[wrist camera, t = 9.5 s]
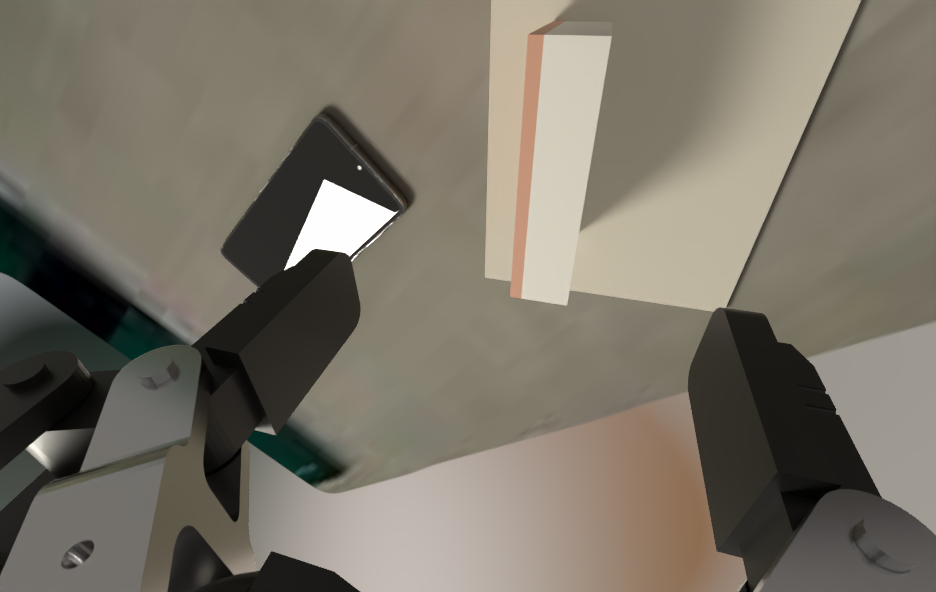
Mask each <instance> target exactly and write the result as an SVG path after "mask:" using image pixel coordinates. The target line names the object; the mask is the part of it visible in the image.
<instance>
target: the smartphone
mask: <svg viewBox="0 0 936 592" xmlns="http://www.w3.org/2000/svg"><path fill="white" fill-rule="evenodd" d="M406 209H407V200H406V198H405V197H404V195H403V194H402V193H401V192H400V191H399V190H398V189H397V188H396V186H395V185H394V184H393V183H392V182H391V181H390V180H389V179H388V178H387V177H386V176H385V174H384V173H383V172H382V171H381V170H380V169H379V168H378V167H377V166H376V165H375V164H374V163H373V161H372V160H371V159H370V158H369V157H368V156H367V155H366V154H365V153H364V152H363V151H362V149H361V148H360V147H359V146H358V145H357V144H356V143H355V142H354V141H353V140H352V139H351V137H350V136H349V135H348V134H347V133H346V132H345V131H344V130H343V129H342V128H341V127H340V126H339V124H338V123H337V122H336V121H335V120H334V119H333V118H332V117H330V116H328V115H326V114H320V115H317V116H315V117H314V118H313V120H312V121H311V122H310V124H309V125H308V126H307V128H306V129H305V131H304V132H303V133H302V135H301V136H300V138H299V139H298V140H297V142H296V143H295V145H294V146H293V147H292V149H291V150H290V151H289V153H288V154H287V156H286V157H285V158H284V160H283V161H282V163H281V164H280V165H279V167H278V168H277V169H276V171H275V172H274V174H273V175H272V176H271V178H270V179H269V181H268V182H267V183H266V185H265V186H264V187H263V189H262V190H261V192H260V193H259V194H258V196H257V197H256V199H255V200H254V201H253V203H252V204H251V205H250V207H249V208H248V210H247V211H246V212H245V214H244V215H243V217H242V218H241V219H240V221H239V222H238V223H237V225H236V226H235V228H234V229H233V230H232V232H231V233H230V235H229V236H228V237H227V239H226V240H225V242H224V243H223V244H222V246H221V253H222V255H223V256H224V258H225V259H227V260H228V261H229V262H230V263H231V264H232V265H233V266H235V267H236V268H237V269H238V270H239V271H240V272H241V273H242V274H244V275H245V276H246V277H247V278H248V279H249V280H250V281H251V282H253V283H254V284H255V285H256V286H257V287H258V288H259V287H260V286H261V285H262V284H263V283H265V282H266V281H267V280H268V279H269V278H270V277H271V276H273V275H275V274H277V273H279V272H281V271H283V270H285V269H287V268H289V267H291V266H294V265H295V264H297V263H298V262H299V261H300V260H301V259H302V258H303V257H304V256H306V255H307V254H308V253H309V252H310V251H311V250H313V249H323V250H330V251H337V252H344V253H346V254H348V255H349V257H350V259H351V261H352V260H353V259H355V258H356V257H357V256H358V255H359V253H360V252H361V251H362V250H364V249H365V248H367V247H368V246H369V245H370V244H371V243H373V242H374V241H375V240H376V239H377V238H378V237H379V236H380V235H382V234H383V232H384V231H385V230H386V229H387V228H388V227H389V226H390V225H392V224H393V223H394V222H395V221H396V220H397V219H398V218H399V217H400V216H402V215H403V214H404V213H405V211H406Z"/></svg>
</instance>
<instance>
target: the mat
mask: <svg viewBox="0 0 936 592" xmlns="http://www.w3.org/2000/svg"><path fill="white" fill-rule="evenodd" d="M860 2H861V0H491V41H490V84H489V127H488V170H487V213H486V256H485V278H492V279H498V280H505V281H511V276H512V261H513V247H514V232H515V217H516V202H517V188H518V173H519V158H520V143H521V129H522V114H523V99H524V84H525V70H526V55H527V40H528V34H530V33H532V32H534V31H535V30H537V29H539V28H541V27H543V26H545V25H547V24H549V23H551V22H553V21H580V22H613V23H612V38H611V44H610V50H609V56H608V62H607V68H606V74H605V80H604V86H603V92H602V98H601V104H600V110H599V116H598V122H597V128H596V134H595V140H594V146H593V152H592V158H591V164H590V170H589V176H588V182H587V188H586V194H585V200H584V206H583V212H582V218H581V224H580V230H579V236H578V242H577V248H576V254H575V260H574V266H573V272H572V278H571V284H570V290H572V291H579V292H586V293H593V294H599V295H606V296H613V297H620V298H626V299H633V300H640V301H646V302H653V303H660V304H667V305H673V306H680V307H687V308H694V309H700V310H707V311H715V310H716V309H717V308H719V307H721V308H726V306H727V304H728V301H729V299H730V297H731V295H732V292H733V290H734V288H735V286H736V283H737V281H738V279H739V277H740V274H741V272H742V270H743V267H744V265H745V263H746V261H747V258H748V256H749V254H750V252H751V249H752V247H753V245H754V242H755V240H756V238H757V236H758V233H759V231H760V229H761V227H762V224H763V222H764V220H765V218H766V215H767V213H768V211H769V208H770V206H771V204H772V202H773V199H774V197H775V195H776V193H777V190H778V188H779V186H780V184H781V181H782V179H783V177H784V174H785V172H786V170H787V168H788V165H789V163H790V161H791V159H792V156H793V154H794V152H795V150H796V147H797V145H798V143H799V140H800V138H801V136H802V134H803V131H804V129H805V127H806V125H807V122H808V120H809V118H810V115H811V113H812V111H813V109H814V106H815V104H816V102H817V100H818V97H819V95H820V93H821V91H822V88H823V86H824V84H825V81H826V79H827V77H828V75H829V72H830V70H831V68H832V66H833V63H834V61H835V59H836V57H837V54H838V52H839V50H840V47H841V45H842V43H843V41H844V38H845V36H846V34H847V32H848V29H849V27H850V25H851V23H852V20H853V18H854V16H855V13H856V11H857V9H858V7H859V4H860Z"/></svg>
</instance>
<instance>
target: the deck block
mask: <svg viewBox="0 0 936 592" xmlns="http://www.w3.org/2000/svg"><path fill="white" fill-rule="evenodd" d="M612 23H613V22H580V21H553V22H551V23H549V24H547V25H545V26H543V27H541V28H539V29H537V30H535V31H534V32H532V33H530V34H528V40H527V55H526V70H525V84H524V99H523V114H522V129H521V143H520V158H519V173H518V188H517V202H516V217H515V232H514V247H513V261H512V276H511V291H510V297H516V298H522V299H528V300H535V301H541V302H547V303H554V304H560V305H566V306H567V302H568V296H569V290H570V284H571V278H572V272H573V266H574V260H575V254H576V248H577V242H578V236H579V230H580V224H581V218H582V212H583V206H584V200H585V194H586V188H587V182H588V176H589V170H590V164H591V158H592V152H593V146H594V140H595V134H596V128H597V122H598V116H599V110H600V104H601V98H602V92H603V86H604V80H605V74H606V68H607V62H608V56H609V50H610V44H611V38H612Z"/></svg>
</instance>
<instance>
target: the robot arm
mask: <svg viewBox="0 0 936 592" xmlns="http://www.w3.org/2000/svg"><path fill="white" fill-rule="evenodd" d="M359 317H360V301H359V296H358V291H357V286H356V281H355V277H354V272H353V267H352V262H351V259H350V257H349V255H348V254H346V253H344V252H337V251H330V250H323V249H313V250H311V251H310V252H309V253H308V254H307V255H306V256H304V257H303V258H302V259H301V260H300V261H299V262H298V263H297V264H295V265H294V266H291V267H289V268H287V269H285V270H283V271H281V272H279V273H277V274H275V275H273V276H271V277H270V278H269V279H268V280H267V281H266V282H265V283H263V284H262V285H261V286H260V287H259V288H258V289H256V293H254V292H253V293H252V294H251V295H250V296H248V297H247V298H246V299H245V300H244V303H243V304H239V305H238V306H237V307H236V308H235V309H233V310H232V311H231V312H230V313H229V314H228V315H227V316H225V317H224V318H223V319H222V320H221V321H220V322H218V323H217V324H216V325H215V326H214V327H213V328H212V329H210V330H209V331H208V332H207V333H206V334H205V335H203V336H202V337H201V338H200V339H199V340H198V341H197V342H195V343H194V344H193V345H192V346H186V345H172V346H166V347H162V348H158V349H155V350H153V351H150V352H148V353H145V354H143V355H141V356H140V357H138V358H136V359H134V360H133V361H131V362H130V363H129V364H127V365H126V366H125V367H124V368H123V369H122V370H114V371H98V372H88V371H87V370H86V368H85V367H84V366H83V364H82V363H81V362H80V361H79V359H78V358H77V357H76V356H75V355H74V354H73V353H70V352H67V351H52V352H46V353H41V354H37V355H34V356H31V357H28V358H25V359H23V360H21V361H18V362H16V363H14V364H12V365H10V366H8V367H6V368H5V369H3V370H1V371H0V470H1V469H2V468H3V467H4V466H6V465H7V464H8V463H9V462H10V461H11V460H13V459H14V458H15V457H16V456H17V455H19V454H20V453H21V452H22V451H23V450H25V449H26V450H27V451H28V452H29V453H30V454H31V455H32V456H33V457H35V458H36V459H37V460H38V461H39V462H40V463H41V464H42V465H43V466H44V467H45V468H46V470H45V471H44V472H43V473H42V474H41V475H40V476H38V477H37V478H36V479H35V480H34V481H33V482H32V483H31V484H30V485H29V486H27V487H26V488H25V489H24V490H23V491H22V492H21V493H20V494H19V495H18V496H17V497H15V498H14V499H13V500H12V501H11V502H10V503H9V504H8V505H7V506H6V507H5V508H4V509H3V510H1V511H0V592H360V591H358V590H357V589H356V588H354V587H353V586H352V585H351V584H349V583H348V582H347V581H345V580H344V579H343V578H342V577H340V576H339V575H337V574H336V573H335V572H333V571H330V570H327V569H324V568H321V567H318V566H315V565H312V564H309V563H306V562H303V561H300V560H297V559H294V558H290V557H288V556H285V555H281V554H278V553H275V552H271V553H270V555H269V556H268V558H267V560H266V561H265V563H264V565H263V566H262V568H261V570H260V571H257V567H256V561H255V556H254V552H253V549H252V546H251V542H250V537H249V527H248V523H249V522H248V521H249V520H248V518H249V460H250V457H249V455H250V449H249V444H248V442H247V438H248V437H249V436H250V435H251V433H252V432H253V431H254V430H258V431H262V432H265V433H269V434H273V435H277V433H278V432H279V431H280V429H281V428H282V427H283V425H284V424H285V422H286V421H287V420H288V418H289V417H290V416H291V414H292V413H293V412H294V410H295V409H296V408H297V406H298V405H299V404H300V402H301V401H302V400H303V398H304V397H305V395H306V394H307V393H308V391H309V390H310V389H311V387H312V386H313V385H314V383H315V382H316V381H317V379H318V378H319V377H320V375H321V374H322V373H323V371H324V370H325V369H326V367H327V366H328V364H329V363H330V362H331V360H332V359H333V358H334V356H335V355H336V354H337V352H338V351H339V350H340V348H341V347H342V346H343V344H344V343H345V342H346V340H347V339H348V337H349V336H350V335H351V333H352V332H353V331H354V329H355V328H356V326H357V323H358V321H359ZM825 391H826V389H825V387H824V385H823V383H822V381H821V379H820V377H819V375H818V373H817V371H816V370H815V367H814V366H813V365H812V364H811V363H810V362H809V361H808V360H807V359H806V358H805V357H804V356H803V355H802V354H801V353H800V352H799V351H798V350H796V349H795V348H794V347H793V346H792V345H791V344H786V343H780V342H777V340H776V337H775V335H774V333H773V331H772V328H771V326H770V324H769V322H768V320H767V318H766V316H765V315H764V314H762V313H756V312H749V311H742V310H735V309H728V308H721V307H719V308H717V309H716V310H715V311H714V313H713V314H712V316H711V319H710V321H709V323H708V326H707V328H706V330H705V333H704V335H703V337H702V340H701V342H700V344H699V347H698V349H697V351H696V354H695V356H694V358H693V361H692V363H691V367H690V371H689V377H688V392H689V398H690V403H691V409H692V415H693V420H694V426H695V432H696V437H697V443H698V449H699V454H700V460H701V466H702V471H703V477H704V482H705V488H706V494H707V499H708V505H709V510H710V516H711V521H712V527H713V532H714V538H715V544H716V549H717V551H718V552H722V553H726V554H729V555H733V556H737V557H741V558H743V561H744V565H745V570H746V575H747V578H746V580H744V581H743V583H742V584H741V585H740V586H739V588H738V589H737V591H736V592H936V535H935V534H933V533H932V532H931V531H930V530H929V529H928V528H927V527H926V526H925V525H924V524H922V523H921V522H920V521H919V520H917V519H916V518H915V517H914V516H912V515H911V514H909V513H908V512H906V511H905V510H903V509H902V508H900V507H898V506H896V505H895V504H893V503H891V502H889V501H887V500H885V499H883V498H882V497H881V496H880V494H879V492H878V490H877V488H876V486H875V484H874V482H873V480H872V478H871V476H870V474H869V472H868V470H867V468H866V466H865V465H864V463H863V461H862V459H861V457H860V455H859V453H858V451H857V449H856V447H855V445H854V444H853V441H852V439H851V437H850V435H849V433H848V431H847V429H846V427H845V426H844V424H843V422H842V420H841V418H840V416H839V415H836V408H835V406H834V404H833V402H832V400H831V398H830V396H829V395H828V394H825Z"/></svg>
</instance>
